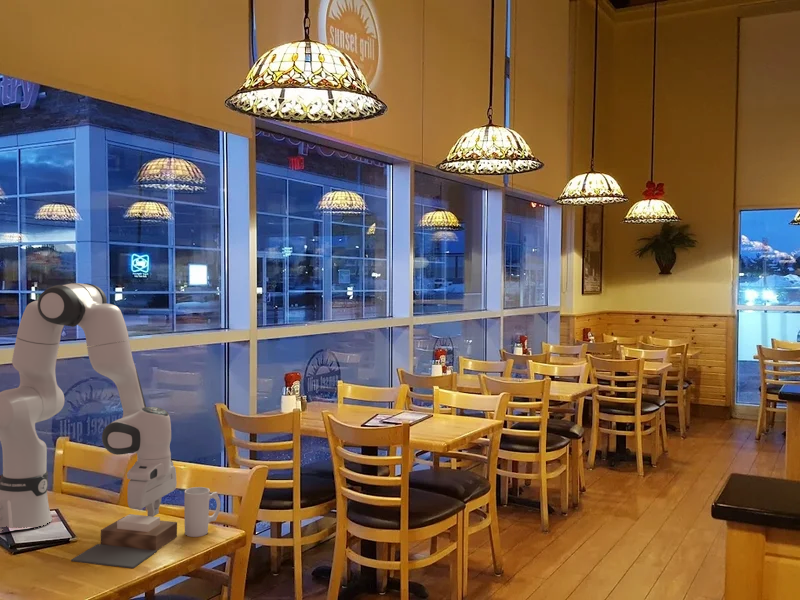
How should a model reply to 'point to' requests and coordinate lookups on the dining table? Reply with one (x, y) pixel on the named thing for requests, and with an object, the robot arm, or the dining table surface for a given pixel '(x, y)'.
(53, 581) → the dining table surface
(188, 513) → the mug
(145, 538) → the riser board
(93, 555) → the bar mat
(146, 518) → the grey flat block
